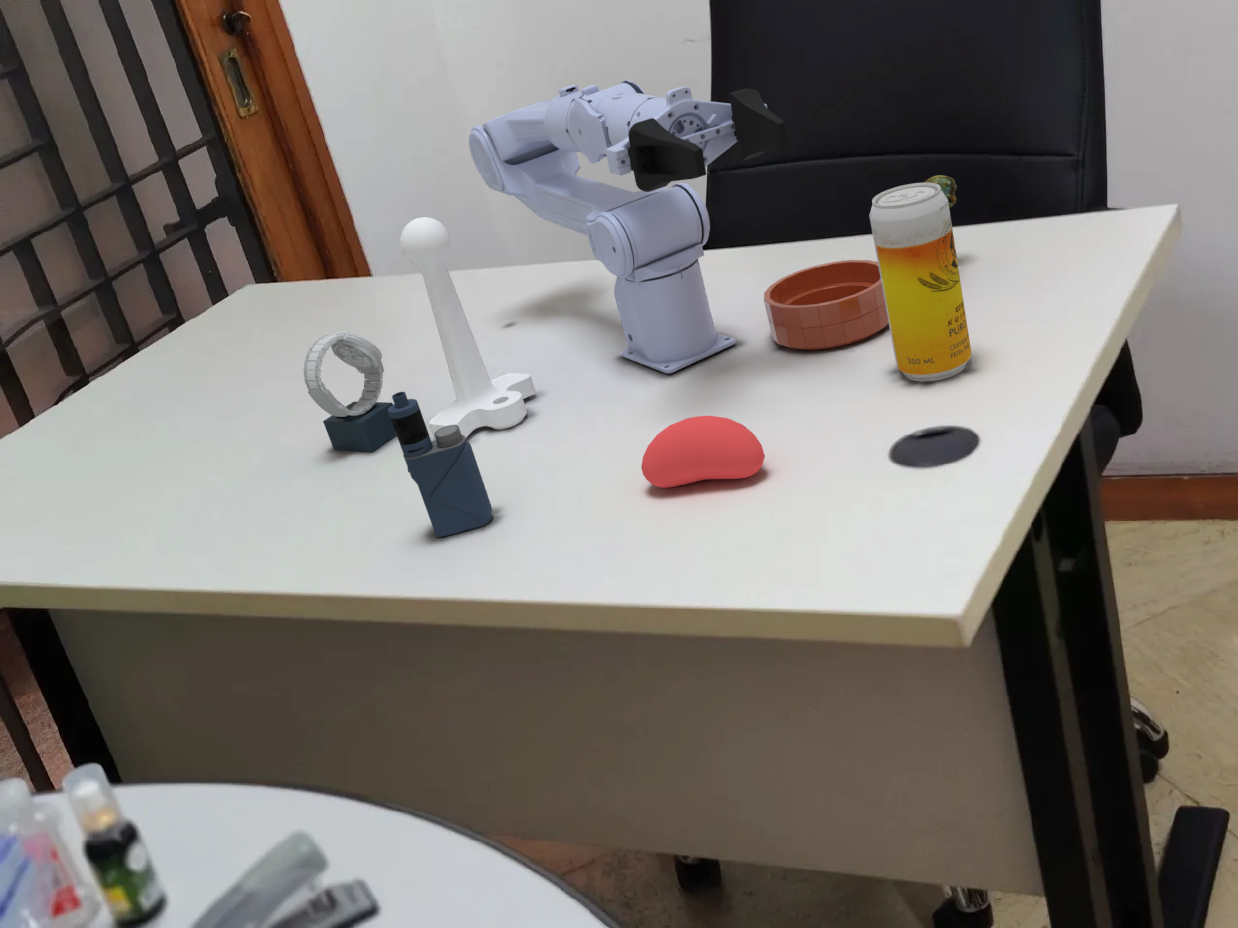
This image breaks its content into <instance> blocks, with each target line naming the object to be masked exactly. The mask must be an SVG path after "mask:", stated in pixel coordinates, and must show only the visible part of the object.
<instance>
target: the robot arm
mask: <svg viewBox="0 0 1238 928" xmlns="http://www.w3.org/2000/svg"><path fill="white" fill-rule="evenodd" d="M728 95H729V101H730V103H727V102H718V101H709V100H701V99H694V97H693V94H692V91H691V88H689V87H688V86H679V87H676V88H674V89H669V90H668V91H667V92H666V94H665V96H659V95H651V94H646V92H645V90H644V89H643V88H642V87H641V86H640V84H638V83H637V82H635V81H631V80H629V79H625V80H624V79H623V80H622V81H621V82H620V83H619V84H616V85H613V86H610V87H608V88H605V89H599V87H598V85H596V84H591V85H588V86H585V87H583V88H582V89H580V90H579V86H578V85H577V84H570V85H567V86H564V87H562V88H559V89H558V95H557V96H555V97H553V98H552V99H547V100H543V101H539V102H536V103H532V104H530V105H527V106H524V107H521V108H518V109H516V110H512V111H509V112H507V113H505V114H502V115H500V116H498V117H495V118H493V119H490V120H488V121H485V122H483V123H482V125H479V124H478V125H474V126H473V127H472V128H471V129H470V133H469V136H468V147H469V152H470V155H471V158H472V161H473V163H474V166H475V168H476V170H477V172H478V173H479V175H480V176H481V178H482V180H483V181H484V183H485V185H487V186H488V188H489V189H490V190H493V191H496V192H499V193H502V194H504V195H507V196H513V197H514V198H516V199H517V200H518V201H520V203H522V204H523V205H524V206H525V207H527V208H528V209H529V210H530V211H531V212H532V213H534V214H535V215H536V216H537V217H539V218H541V219H543V220H544V221H547V222H550V223H552V224H556V225H558V226H561V227H563V228H566V229H568V230H571V231H574V232H577V233H579V234H582V235H584V236H587V239H588V243H589V246H590V250H591V253H592V254H593V256H594V258H595V260H597V261H599V262H601V263H602V264H603V266H604V268H605V269H606V270H607V271H608V272H609V273H611V274H612V275H614V276H616V279H615V283H614V290H613V293H614V300H615V304H616V307H617V312H618V314H619V318H620V322H621V325H622V330H623V333H624V337H625V340H626V345H627V348H626V349H624V350H622V351H621V352H620V354H621V357H623V358H625V359H628V360H631V361H633V362H635V363H639V364H641V365H644V366H646V367H648V368H650V369H654V370H656V371H659V372H661V373H665V374H673V373H675V372H677V371H679V370H681V369H683V368H686V367H688V366H691V365H692V364H694V363H697V362H700V361H701V360H703V359H705V358H708V357H709V356H712V355H714V354H716V353H719V352H721V351H723V350H725V349H727V348H729V347H732V346H733V345H735V344H736V343H737V341H736V338H735V337H731V336H729V335H726V334H722V333H719V332H716V327H715V324H714V320H713V316H712V311H711V306H710V303H709V299H708V298H709V297H708V295H707V289H706V287H705V282H704V278H703V274H702V269H701V266H700V262H699V261H700V260H699V259H700V258H701V257H703V256H705V253H704V248H703V247H704V245H706V244H707V242H708V240H709V236H710V230H711V222H710V216H709V212H708V209H707V206H706V204H705V202H704V200H703V198H702V197H701V195H700V194H699V193H698V191H696V190H695V188H694V187H692V186H690V185H689V184H688V183H685V182H679V181H686V180H695V179H698V178H701V177H705V176H706V175H707V170H706V167H708V166H709V165H710V164H711V163H712V162H714V161H715V160H716V159H718V158H719V157H720V156H721V155H722V154H724V153H725V152H727V150H729V149H730V148H731V147H733V145H735V144H736V143H738V141H739V148H740V153H741V160H742V161H747V160H749V159H753V158H755V157H758V156H761V155H763V154H765V153H774V152H779V151H782V150H786V149H788V148H789V146H790V142H789V133H788V127H787V123H786V122H785V121H784V120H783V119H781V118H780V117H779V116H777V115H776V114H774V113H773V112H772V111H771V110H769V109H768V104H766V103H764V102H763V99H762V98H761V94H760V92H759V91H758V90H757V89H753V88H748V87H747V88H742V89H738V90H735V91H732V92H730V93H729V94H728ZM578 153H581V154H582V155H583V156H585V157H586V158H587V160H588V162H589V163H590V164H595V163H598V162H601V161H602V160H603V159H604V158H606V159H607V164H608V169H609V173H610V174H613V175H617V176H620V177H621V176H625V175H628V174H630V173H631V172H633V176H634V182H635V185H636V187H637V188H638V189H639V190H638V191H637V190H636V191H631V190H627V189H625V188H621V187H618V186H614V185H611V184H608V183H605V182H600V181H598V180H594V179H591V178H587V177H585V176H580V175H577V174H578V172H579V171H580V169H581V165H580V161H579V158H578ZM672 182H677V183H675V184H673V185H672V186H670V187H667V186H668V185H669V184H670V183H672Z"/></svg>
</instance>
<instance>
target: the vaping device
mask: <svg viewBox="0 0 1238 928" xmlns="http://www.w3.org/2000/svg"><path fill="white" fill-rule="evenodd" d="M391 398H392V401H393V405H392V406H390V407H389V408H388V413H389V415H390V418H391V421H393V422H392V424H393V426H394V429H395V432H396V435H397V436H396V437H397V440H398V444H399V446H400V448H401V451H402V456H403V459H404V462H405V463H406V467H407V472H408V473H409V475H410V478H411V479H412V481H414V482H415V484H416V485H417V487H418V490H419V493H420V496H421V498H422V501H423V504H424V507H425V509H426V512H427V515H428V518H429V521H430V523H431V526H432V529H433V532H434V535H435V537H436V538H443V537H446V536H452V535H456V534H459V533H462V532H466V531H469V530H473V529H474V530H475V529H478V528H480V527H483V526H485V525H487V524H488V523H489V522H490V521H491V520H492V512H493V507H492V504H491V501H490V498H489V495H488V491H487V488H486V486H485V483H484V480H483V476H482V474H481V471H480V468H479V465H478V463H477V459H476V456H475V453H474V451H473V447H472V445H471V443H470V442H469V441H468V440H467V437H466V438H465V436H464V435H461V432H460V429H459V426H457V425H449V426H445V427H443V428H440V429H439V430H437V431H436V432H435V433H434V436H435V439H436V441H435V440H433V441H432V439H431V437H430V436H431V435H430V434H429V431H428V428H427V424H426V423H425V420H424V417H423V416H424V415H423V414H422V410H421V408H420V404H419V402H418V400H417V399H415V398H408V396H407V393H406V391H399V392H395V393H394V394H393V395H391Z"/></svg>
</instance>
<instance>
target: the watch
mask: <svg viewBox="0 0 1238 928" xmlns="http://www.w3.org/2000/svg"><path fill="white" fill-rule="evenodd" d="M330 348H331V350H332V353H333V355H334V356H335V357H337V358H338V359H339V360H341V361H342V362H343V363H345V364H347V365H348V366H349V367H353V368H355V370H357V372H358V373H360V374H362V375H363V380H364V381H363V388H362V390H361V391H362V392H361V395H360V397H359V399H358V400H357V401H352V402H350V403H349V404H347V405H344V404H342V402H340V400H338V399H337V397H335V396H334V394H333V393H332V392H331V390H330V389H327V388H326V385H325V383H324V382H323V381H322V378H321V376H322V375H321V373H322V372H321V368H322V364H323V359H324V358H325V355H326V354H327V352H328V350H329V349H330ZM382 359H383V354H382V351H381V350H380V348H379V347H378V346H377V345H376V344H374V343H373V342H372V341H370V340H369V339H368V338H366V337H364V336H361V335H360V334H358V333H354V332H351V331H343V330H342V331H338V332H336V333H335V334H329V335H328V334H327V335H323V336H322V337H319V338H317V339H316V340H315V341H314V343H312V345H310V347H309V349H308V351H307V353H306V356H305V359H304V364H303V377H304V378H303V379H304V384H305V385H306V388H307V390H308V391H307V393H308V395H309V397H310V398H311V400H313V401H314V402H315V403H316V405H317V406H318V407H320V408H321V409H322V410H323V411H325V412H326V413H327V414H329V415H330V416H328V417H327V418H326V419H324V420H323V421H322V422H323V426H324V428H325V431H326V433H327V435H328V438H329V441H330V443H331V446H332V448H333V450H334V451H348V452H349V451H350V452H363V453H373V452H375V451H377V450H378V449H380V448H381V447H382V446H384V445H386V444H387V443H388V442H390V441H391V440H393V439H394V438H395V437H397V435H396V432H395V429H394V426H393V424H392V422H393V421H391V418H390V415H389V413H388V408H389V407H390V406H392V405H393V404H394V402H387V401H385V402H383V401H382V402H380V401H378V400H379V397H380V395H381V393H382V388H383V383H384V382H383V379H384V372H385V368H384V364H383V362H382Z"/></svg>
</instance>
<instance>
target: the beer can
mask: <svg viewBox="0 0 1238 928" xmlns="http://www.w3.org/2000/svg"><path fill="white" fill-rule="evenodd" d="M871 203H872V205H871V208H870V212H869V215H868V216H869V221H870V227H871V228H870V229H871V233H872V238H873V244H874V249H875V255H876V260H877V261H876V262H878V267H879V272H880V278H881V283H882V289H883V294H884V300H885V305H886V311H887V316H888V322H889V324H888V327H889V332H890V338H891V343H892V349H893V354H894V360H895V365H896V369H897V370H898V371H899V372H901V373H902V374H903V375H904V376H905V378H907V379H908V380H911V381H914V382H937V381H941V380H945V379H948V378H951V377H954V376H956V375H958V374H959V373H962V371H963V370H965V368H966V367H967V363H968V362H969V361H970V359H971V357H972V353H973V352H972V348H971V341H970V334H969V328H968V321H967V314H966V309H965V302H964V294H963V289H962V282H961V277H960V270H959V264H958V256H957V249H956V244H955V243H956V242H955V238H954V237H955V236H954V229H953V224H952V217H951V211H950V208H949V204H948V199H947V198H946V196H945V195H944V193H943V192H942V191H941V187H940V186H939V185H938V184H935V183H924V182H915V183H909V184H908V183H907V184H903V185H899V186H895V187H892V188H890V189H886V190H884V191H882V192H880V193H878V194H876V195H875V196H874V197H873V198H872V199H871Z"/></svg>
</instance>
